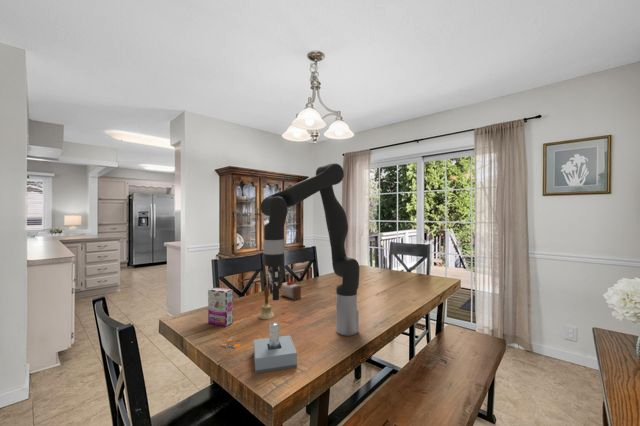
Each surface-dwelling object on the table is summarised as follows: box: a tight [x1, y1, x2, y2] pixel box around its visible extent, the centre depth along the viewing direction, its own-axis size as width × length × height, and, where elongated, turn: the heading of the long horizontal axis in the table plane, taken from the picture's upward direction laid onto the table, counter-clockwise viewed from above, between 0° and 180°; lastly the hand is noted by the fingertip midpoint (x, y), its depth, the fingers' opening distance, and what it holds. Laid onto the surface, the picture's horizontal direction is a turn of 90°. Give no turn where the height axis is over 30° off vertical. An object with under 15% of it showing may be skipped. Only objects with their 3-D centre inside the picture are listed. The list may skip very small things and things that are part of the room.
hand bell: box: [257, 285, 276, 320], centre depth 143 cm, size 8×8×16 cm
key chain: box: [218, 336, 241, 353], centre depth 113 cm, size 13×7×1 cm, turn 35°
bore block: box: [253, 335, 298, 374], centre depth 101 cm, size 14×14×5 cm
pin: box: [268, 321, 280, 350], centre depth 101 cm, size 4×4×12 cm
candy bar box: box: [207, 287, 234, 327], centre depth 134 cm, size 11×5×16 cm, turn 68°
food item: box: [281, 280, 302, 301], centre depth 175 cm, size 14×8×10 cm, turn 43°
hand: (274, 296), depth 101 cm, fingers open, 8 cm apart
